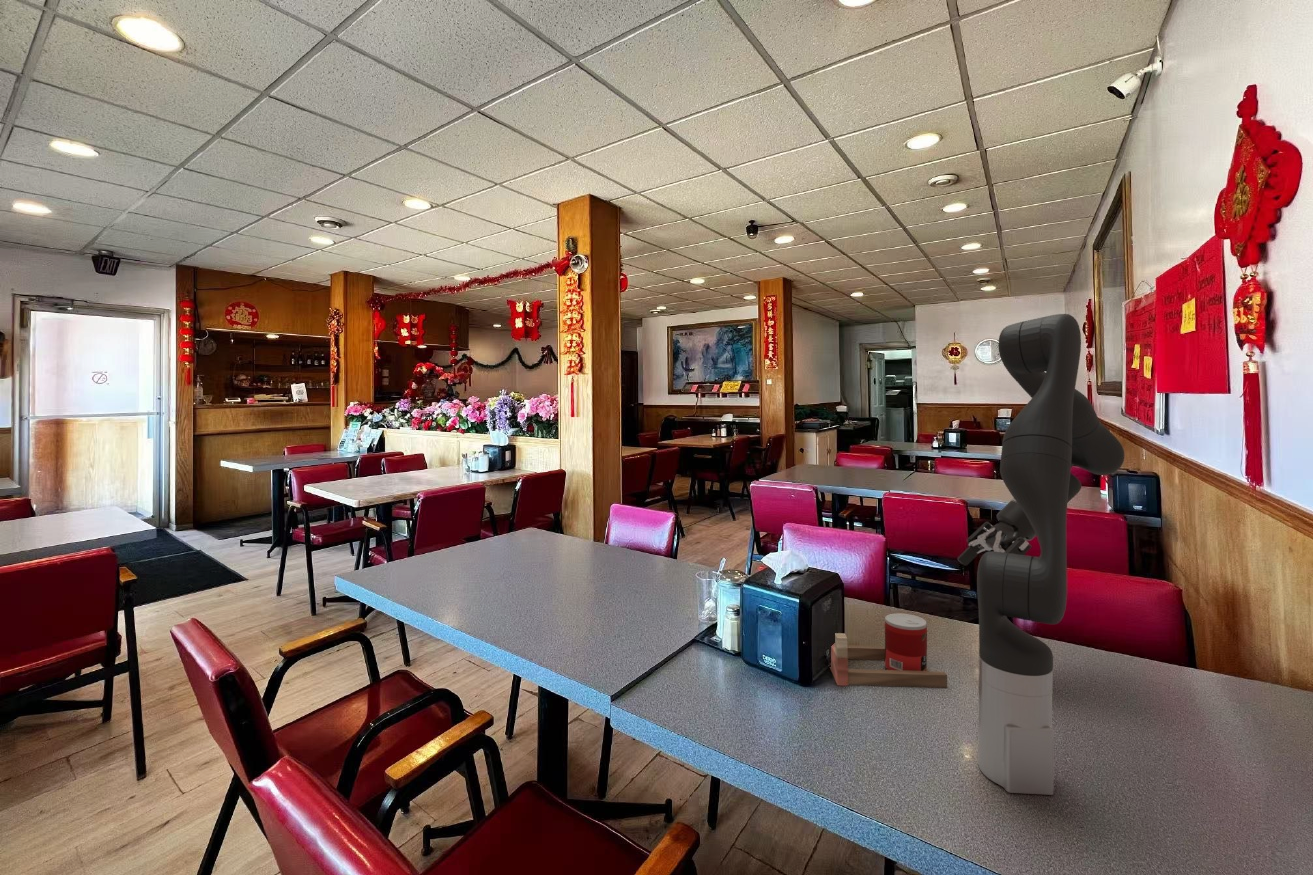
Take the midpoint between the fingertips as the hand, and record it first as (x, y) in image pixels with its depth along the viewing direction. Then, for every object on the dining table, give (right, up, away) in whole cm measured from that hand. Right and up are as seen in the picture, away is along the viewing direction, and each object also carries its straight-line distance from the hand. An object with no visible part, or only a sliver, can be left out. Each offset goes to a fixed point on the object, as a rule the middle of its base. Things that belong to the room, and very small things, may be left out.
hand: (970, 569), depth 114 cm
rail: (-17, -22, +3) cm, 28 cm away
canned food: (-12, -22, +2) cm, 25 cm away
